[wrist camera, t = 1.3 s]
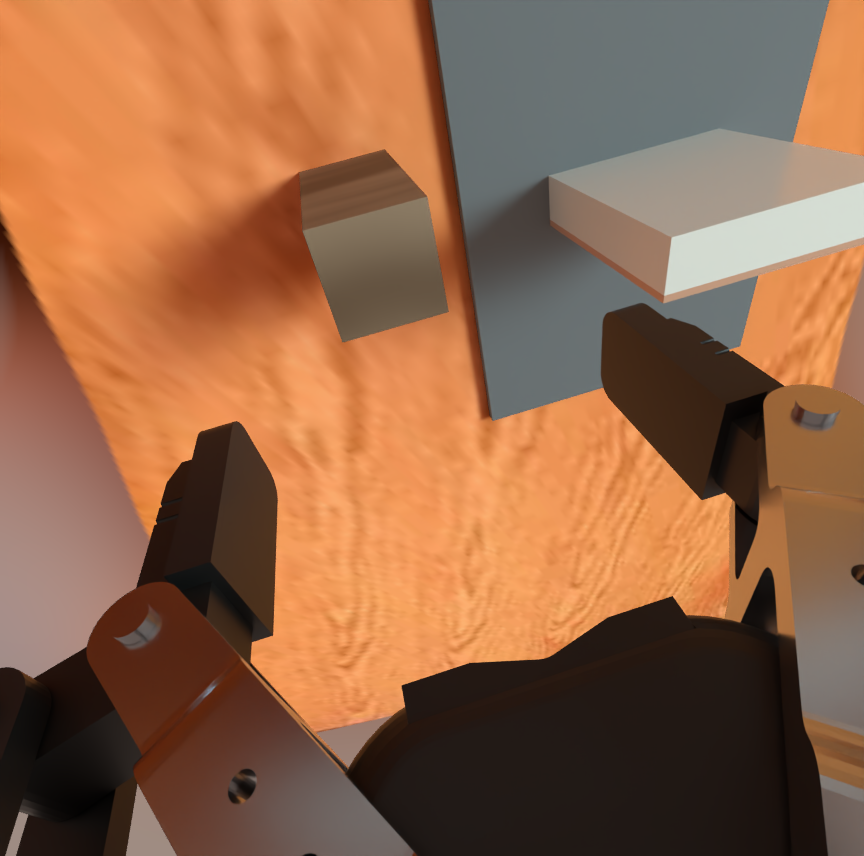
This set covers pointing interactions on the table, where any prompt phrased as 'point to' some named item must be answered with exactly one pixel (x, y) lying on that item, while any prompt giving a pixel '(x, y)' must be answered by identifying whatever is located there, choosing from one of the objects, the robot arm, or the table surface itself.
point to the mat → (594, 154)
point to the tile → (711, 209)
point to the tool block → (371, 244)
